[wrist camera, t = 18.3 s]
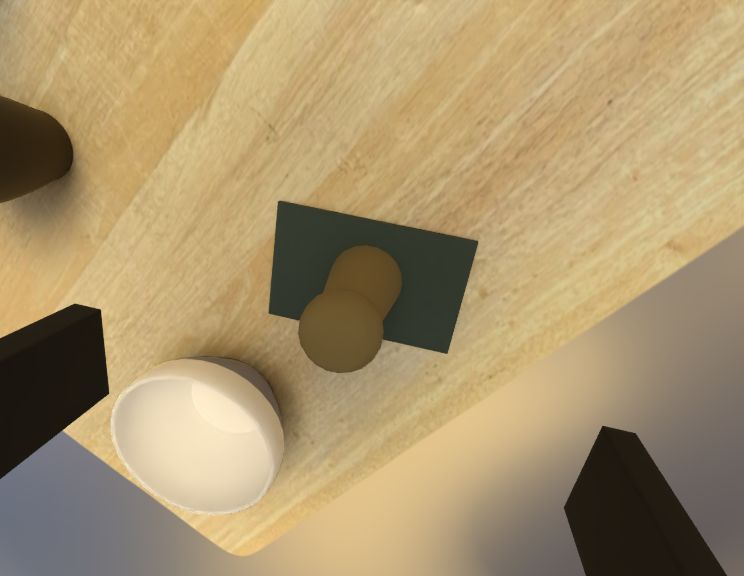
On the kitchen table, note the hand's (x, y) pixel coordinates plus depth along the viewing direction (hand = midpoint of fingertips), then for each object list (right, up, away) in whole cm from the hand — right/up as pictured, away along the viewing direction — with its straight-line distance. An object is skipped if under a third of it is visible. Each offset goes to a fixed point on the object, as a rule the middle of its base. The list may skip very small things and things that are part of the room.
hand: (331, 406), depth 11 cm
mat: (+1, +4, +23) cm, 24 cm away
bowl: (-13, -7, +30) cm, 33 cm away
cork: (+1, +4, +23) cm, 23 cm away
